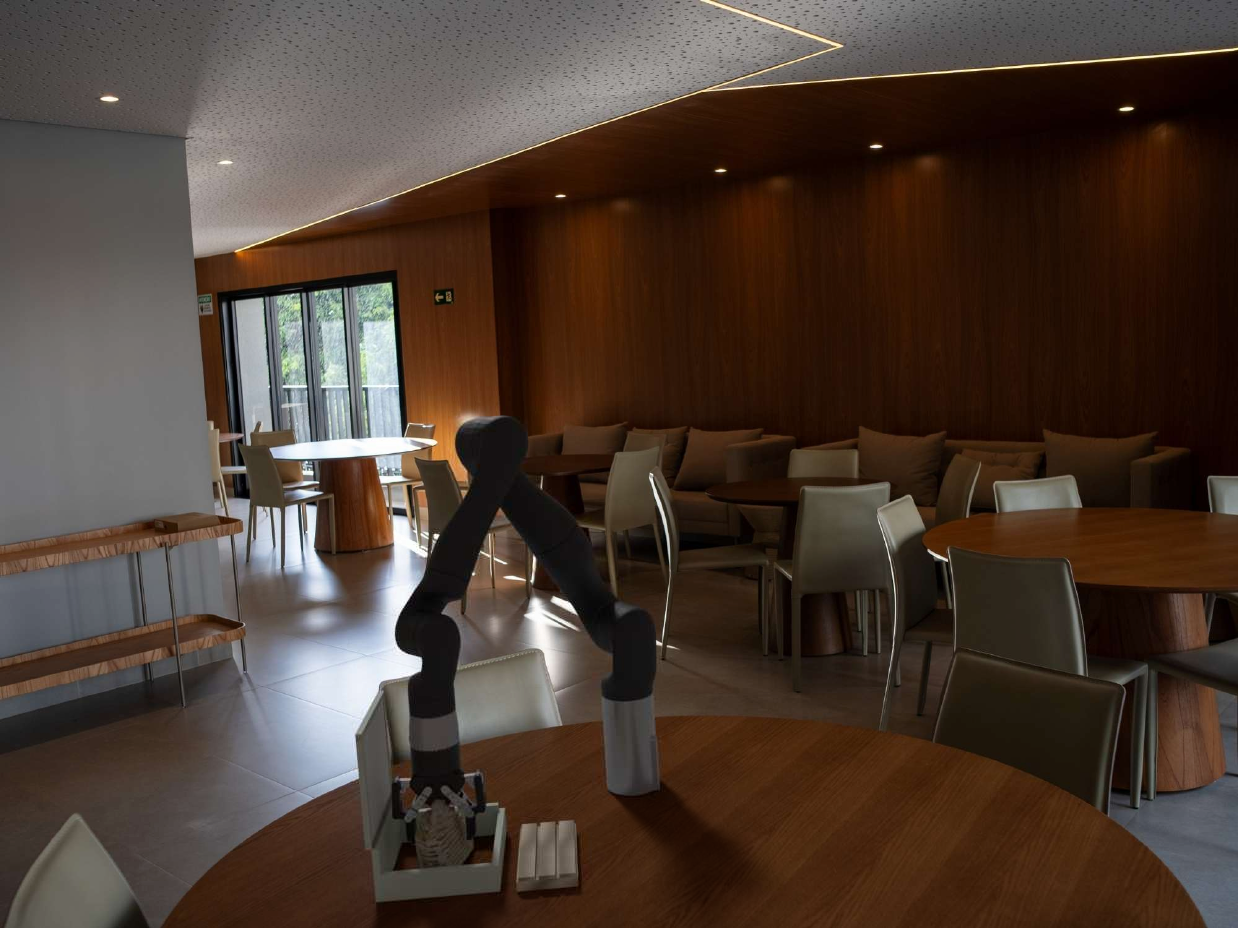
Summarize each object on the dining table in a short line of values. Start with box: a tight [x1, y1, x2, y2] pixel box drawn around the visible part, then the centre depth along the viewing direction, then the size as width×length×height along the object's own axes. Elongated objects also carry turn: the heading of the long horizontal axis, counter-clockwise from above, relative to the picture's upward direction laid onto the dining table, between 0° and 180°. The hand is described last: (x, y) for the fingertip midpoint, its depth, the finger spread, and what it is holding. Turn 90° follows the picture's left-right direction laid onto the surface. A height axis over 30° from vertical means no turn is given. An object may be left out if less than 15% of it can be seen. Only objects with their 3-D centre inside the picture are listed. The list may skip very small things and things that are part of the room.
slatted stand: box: [516, 819, 580, 892], centre depth 155 cm, size 9×17×2 cm, turn 3°
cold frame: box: [354, 690, 507, 903], centre depth 154 cm, size 19×19×25 cm
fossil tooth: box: [414, 799, 475, 869], centre depth 155 cm, size 12×6×15 cm
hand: (442, 840), depth 155 cm, fingers open, 8 cm apart
